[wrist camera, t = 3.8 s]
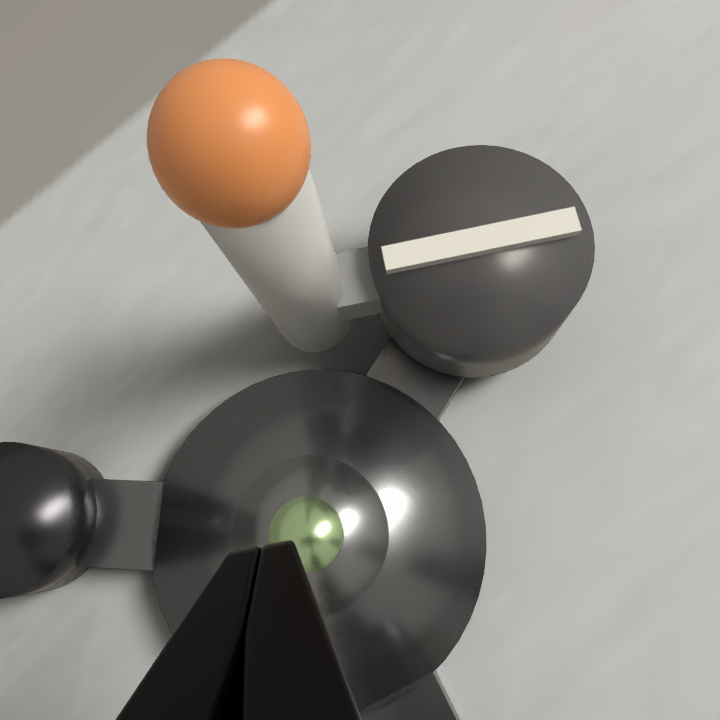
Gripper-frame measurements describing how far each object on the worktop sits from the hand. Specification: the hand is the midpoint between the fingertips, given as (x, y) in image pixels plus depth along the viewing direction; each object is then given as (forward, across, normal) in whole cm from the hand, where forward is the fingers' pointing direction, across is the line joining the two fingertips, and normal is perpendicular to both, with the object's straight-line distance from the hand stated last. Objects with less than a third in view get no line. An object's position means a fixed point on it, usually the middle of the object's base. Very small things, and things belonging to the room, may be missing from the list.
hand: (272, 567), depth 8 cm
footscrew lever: (+12, -3, +2) cm, 13 cm away
